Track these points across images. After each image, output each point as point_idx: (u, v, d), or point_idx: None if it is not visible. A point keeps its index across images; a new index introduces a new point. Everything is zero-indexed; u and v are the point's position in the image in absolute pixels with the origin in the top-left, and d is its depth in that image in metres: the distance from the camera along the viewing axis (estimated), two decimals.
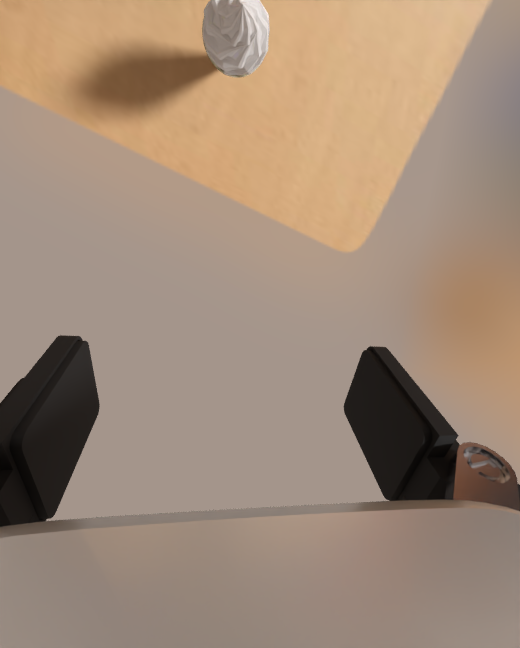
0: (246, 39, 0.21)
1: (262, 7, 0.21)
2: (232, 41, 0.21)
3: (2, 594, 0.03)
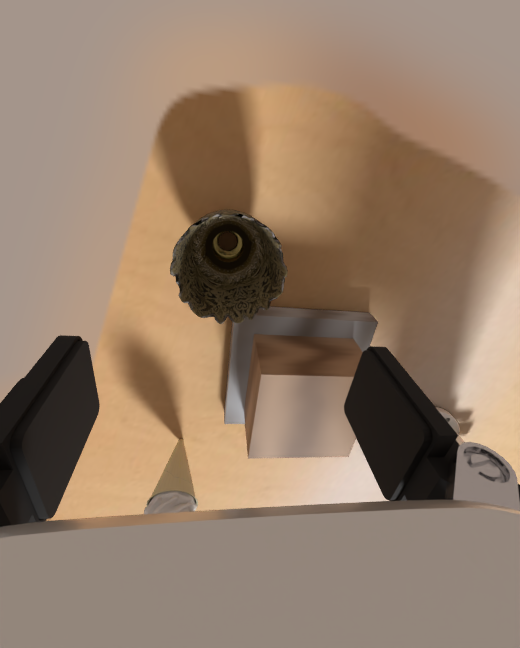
0: None
1: None
2: None
3: (1, 594, 0.03)
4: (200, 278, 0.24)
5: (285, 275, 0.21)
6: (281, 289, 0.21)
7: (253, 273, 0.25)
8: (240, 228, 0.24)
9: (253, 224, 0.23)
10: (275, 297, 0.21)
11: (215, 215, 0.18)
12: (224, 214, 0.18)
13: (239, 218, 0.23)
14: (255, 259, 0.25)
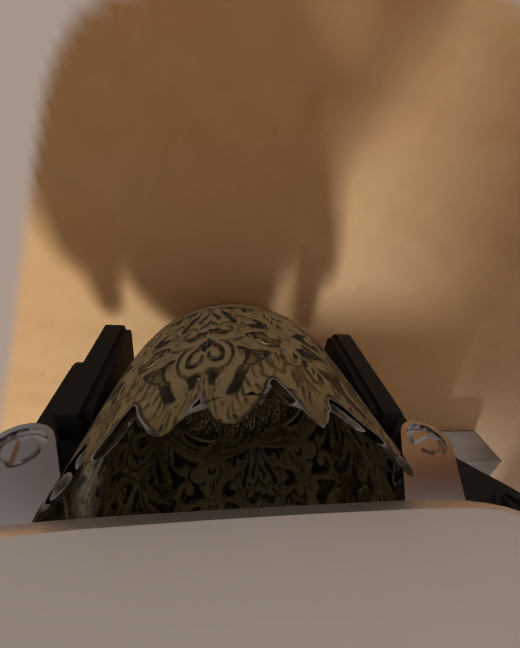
0: None
1: None
2: None
3: (2, 594, 0.03)
4: (168, 441, 0.11)
5: None
6: None
7: (285, 416, 0.12)
8: None
9: None
10: None
11: (185, 414, 0.05)
12: (221, 416, 0.04)
13: None
14: None
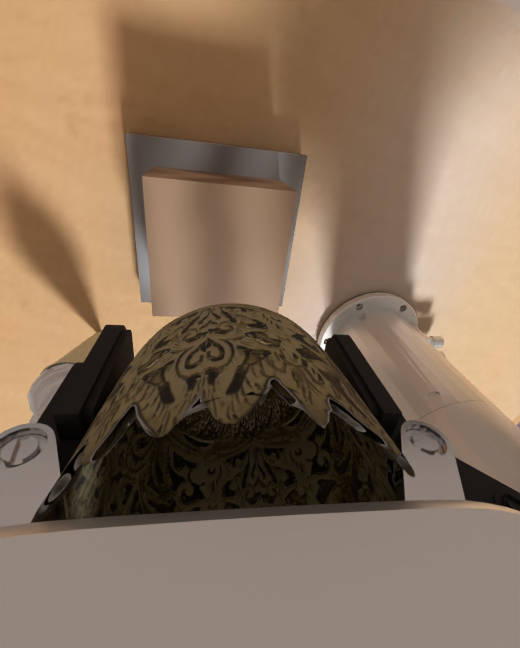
0: None
1: None
2: (32, 420, 0.23)
3: (2, 594, 0.03)
4: (168, 442, 0.11)
5: None
6: None
7: (285, 416, 0.12)
8: None
9: None
10: None
11: (185, 414, 0.05)
12: (221, 416, 0.04)
13: None
14: None
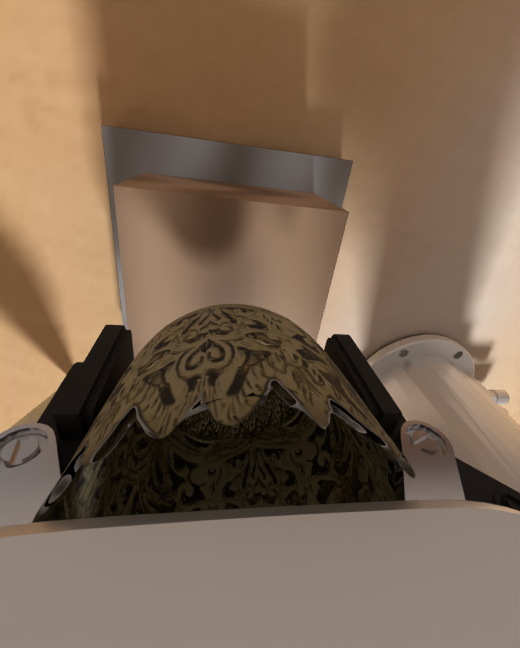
0: None
1: None
2: None
3: (2, 594, 0.03)
4: (168, 442, 0.11)
5: None
6: None
7: (286, 417, 0.12)
8: None
9: None
10: None
11: (185, 415, 0.05)
12: (221, 417, 0.04)
13: None
14: None
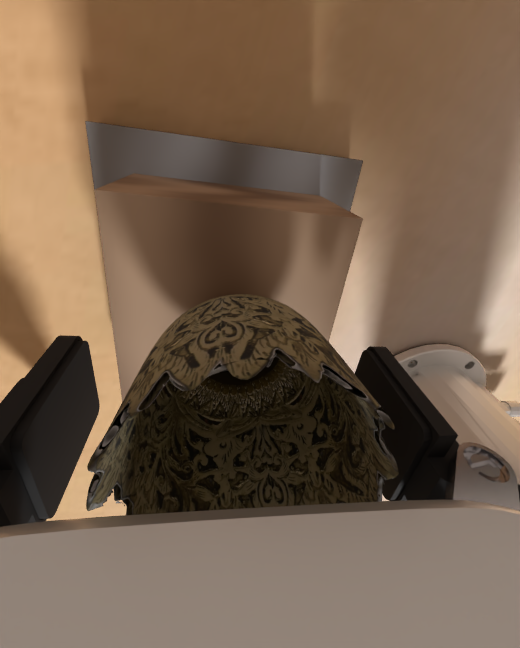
0: None
1: None
2: None
3: (2, 594, 0.03)
4: (184, 419, 0.12)
5: (390, 476, 0.08)
6: None
7: (288, 397, 0.13)
8: None
9: None
10: None
11: (209, 374, 0.06)
12: (237, 374, 0.06)
13: None
14: (291, 370, 0.13)
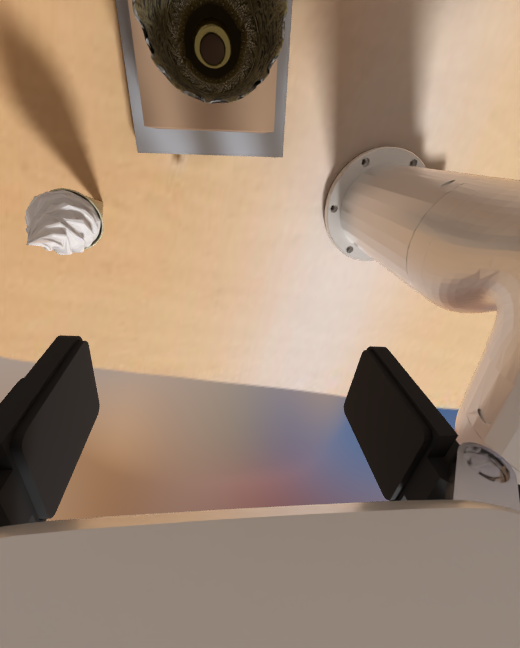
0: None
1: (82, 247, 0.25)
2: (28, 228, 0.22)
3: (2, 594, 0.03)
4: (182, 79, 0.20)
5: (285, 12, 0.16)
6: (282, 37, 0.16)
7: (247, 74, 0.21)
8: (224, 9, 0.19)
9: None
10: (275, 56, 0.17)
11: None
12: None
13: None
14: (247, 56, 0.20)
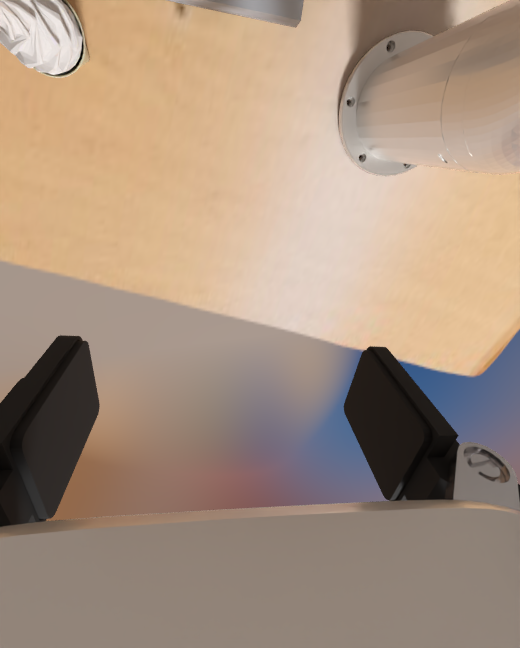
0: None
1: (56, 58, 0.21)
2: None
3: (2, 594, 0.03)
4: None
5: None
6: None
7: None
8: None
9: None
10: None
11: None
12: None
13: None
14: None
